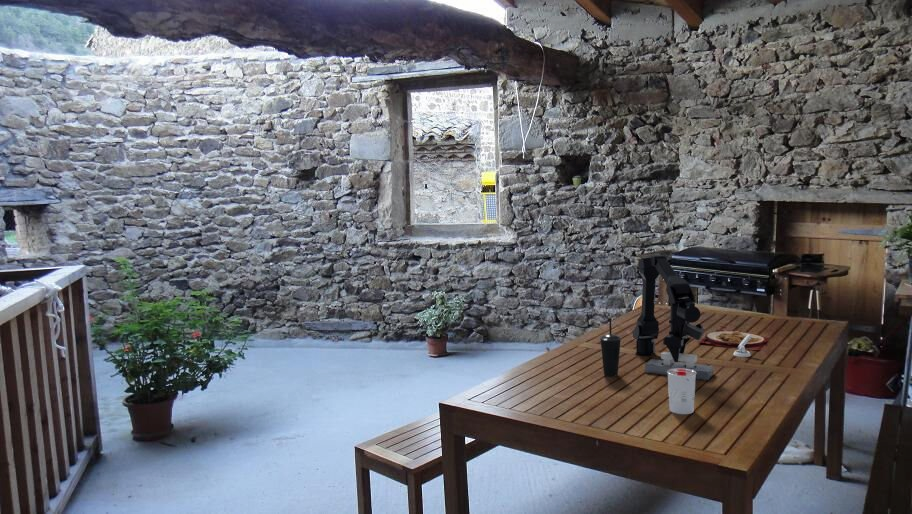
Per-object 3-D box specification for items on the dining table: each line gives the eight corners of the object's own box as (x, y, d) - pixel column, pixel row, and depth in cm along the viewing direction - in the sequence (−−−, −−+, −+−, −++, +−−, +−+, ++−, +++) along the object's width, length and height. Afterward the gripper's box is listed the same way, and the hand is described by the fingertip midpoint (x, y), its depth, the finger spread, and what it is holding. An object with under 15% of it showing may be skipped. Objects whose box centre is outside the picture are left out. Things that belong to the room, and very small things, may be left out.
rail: (645, 372, 243) (645, 364, 243) (651, 366, 250) (651, 359, 249) (708, 380, 231) (708, 371, 231) (713, 374, 238) (713, 366, 237)
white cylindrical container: (661, 406, 207) (661, 368, 205) (687, 404, 207) (688, 366, 206) (674, 417, 197) (674, 377, 195) (702, 415, 197) (702, 375, 196)
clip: (660, 372, 242) (660, 353, 242) (663, 370, 245) (663, 351, 244) (695, 376, 236) (695, 357, 235) (697, 374, 238) (697, 355, 238)
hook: (764, 345, 258) (753, 338, 257) (747, 365, 260) (737, 358, 259) (755, 338, 264) (745, 331, 263) (739, 358, 266) (729, 351, 265)
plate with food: (697, 346, 282) (697, 337, 281) (717, 332, 302) (717, 324, 302) (759, 354, 267) (759, 345, 266) (775, 339, 287) (775, 331, 287)
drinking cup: (622, 372, 244) (622, 318, 242) (620, 378, 237) (620, 322, 235) (601, 371, 247) (600, 317, 244) (598, 376, 239) (598, 322, 237)
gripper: (695, 324, 226) (695, 369, 228) (708, 314, 242) (708, 356, 243) (662, 321, 232) (662, 365, 234) (677, 311, 248) (677, 352, 249)
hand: (678, 359), depth 240 cm, fingers open, 6 cm apart
